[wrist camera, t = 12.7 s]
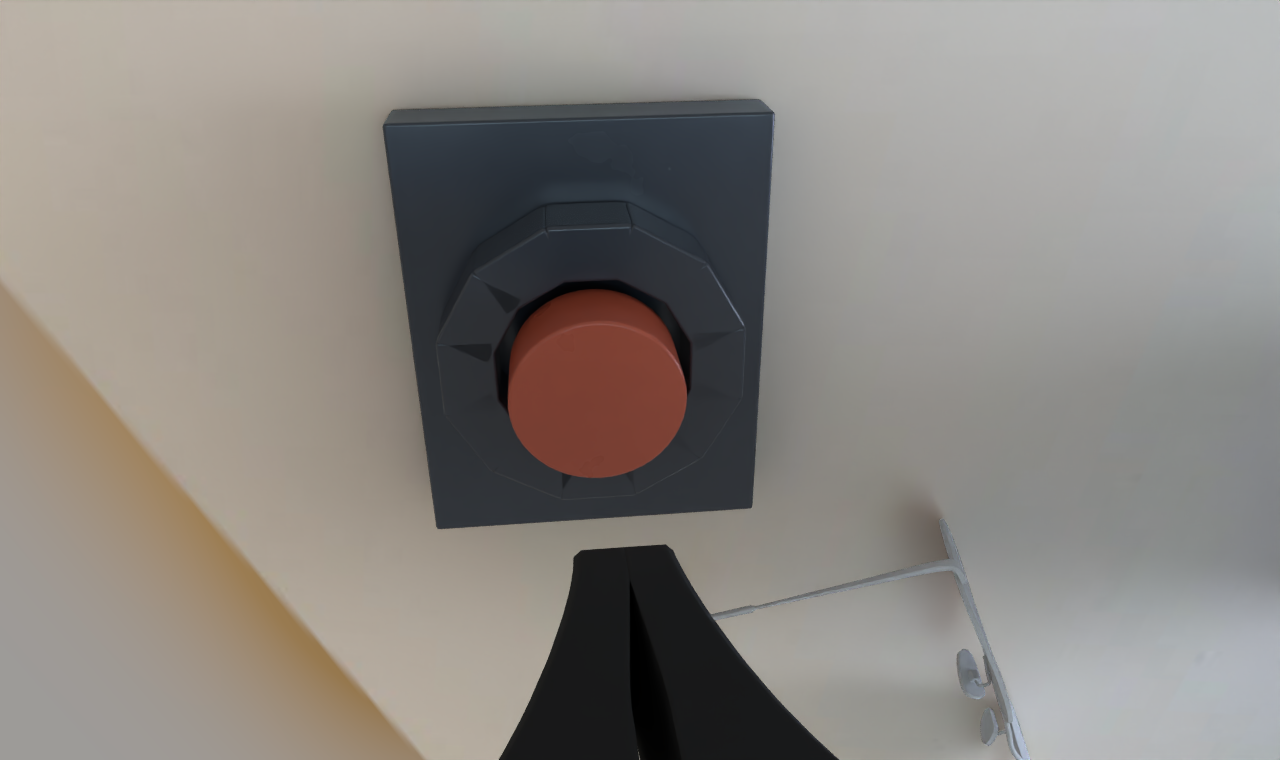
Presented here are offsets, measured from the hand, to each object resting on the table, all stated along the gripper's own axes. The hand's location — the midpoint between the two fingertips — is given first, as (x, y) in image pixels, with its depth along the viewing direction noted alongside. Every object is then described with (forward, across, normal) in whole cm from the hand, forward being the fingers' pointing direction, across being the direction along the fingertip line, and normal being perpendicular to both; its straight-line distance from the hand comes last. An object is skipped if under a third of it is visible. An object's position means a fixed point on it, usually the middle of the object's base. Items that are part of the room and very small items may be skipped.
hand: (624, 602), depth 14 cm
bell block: (+10, 0, 0) cm, 10 cm away
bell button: (+8, 0, 0) cm, 8 cm away
